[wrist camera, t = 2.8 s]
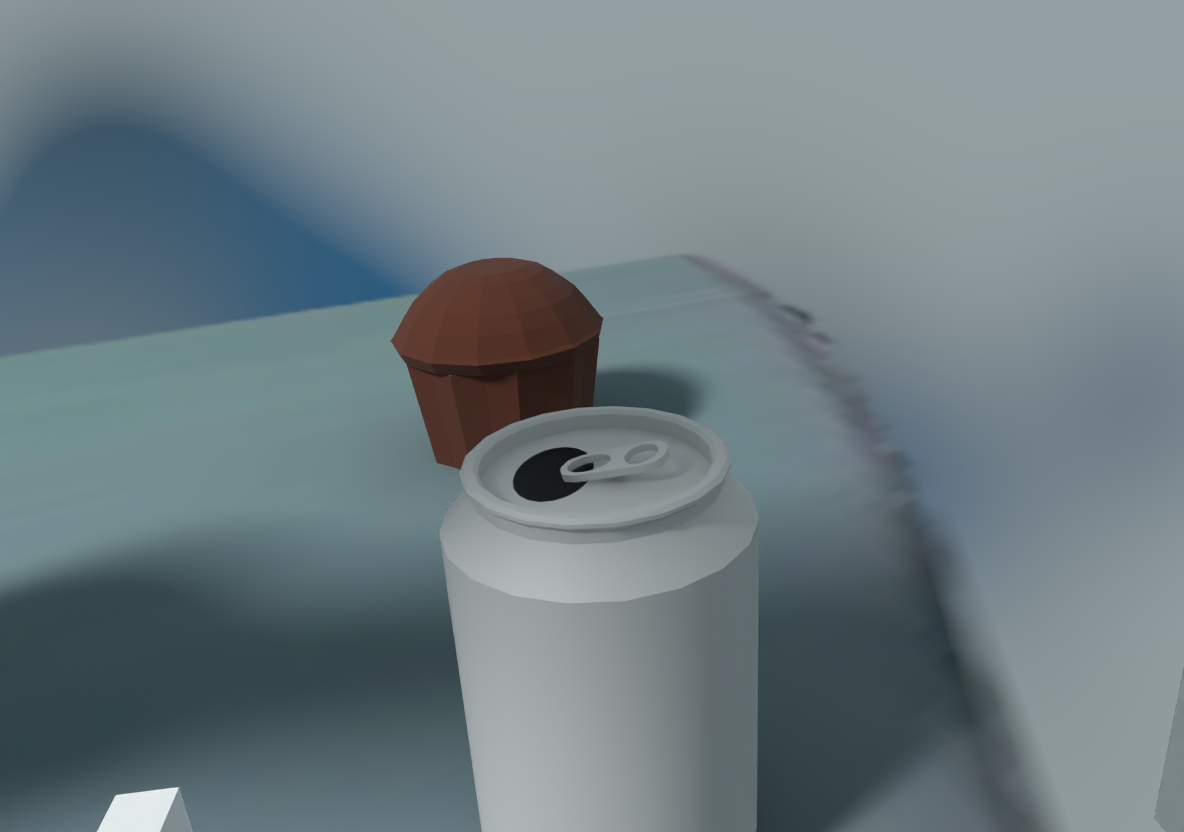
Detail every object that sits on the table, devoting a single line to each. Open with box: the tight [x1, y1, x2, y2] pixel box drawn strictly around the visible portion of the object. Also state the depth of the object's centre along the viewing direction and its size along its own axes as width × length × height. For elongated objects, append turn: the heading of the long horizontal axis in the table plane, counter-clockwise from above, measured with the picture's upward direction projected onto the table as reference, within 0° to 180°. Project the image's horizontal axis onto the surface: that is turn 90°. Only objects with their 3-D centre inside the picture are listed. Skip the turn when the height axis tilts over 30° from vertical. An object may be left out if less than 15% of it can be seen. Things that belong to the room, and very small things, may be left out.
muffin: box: [391, 258, 603, 470], centre depth 50 cm, size 12×11×10 cm
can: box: [439, 406, 759, 832], centre depth 24 cm, size 8×8×12 cm
